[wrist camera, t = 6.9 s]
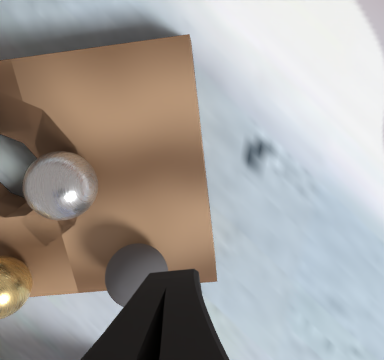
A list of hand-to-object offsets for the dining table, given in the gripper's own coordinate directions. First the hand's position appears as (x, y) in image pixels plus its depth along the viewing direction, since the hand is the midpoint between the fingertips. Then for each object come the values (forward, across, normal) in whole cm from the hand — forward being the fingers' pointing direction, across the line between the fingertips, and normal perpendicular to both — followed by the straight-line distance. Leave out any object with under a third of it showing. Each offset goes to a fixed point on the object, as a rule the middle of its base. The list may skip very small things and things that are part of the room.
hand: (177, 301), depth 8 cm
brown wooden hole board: (+10, +7, -1) cm, 13 cm away
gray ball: (+6, +3, +3) cm, 8 cm away
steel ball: (+6, +6, -2) cm, 9 cm away
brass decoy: (+6, +10, +3) cm, 13 cm away
